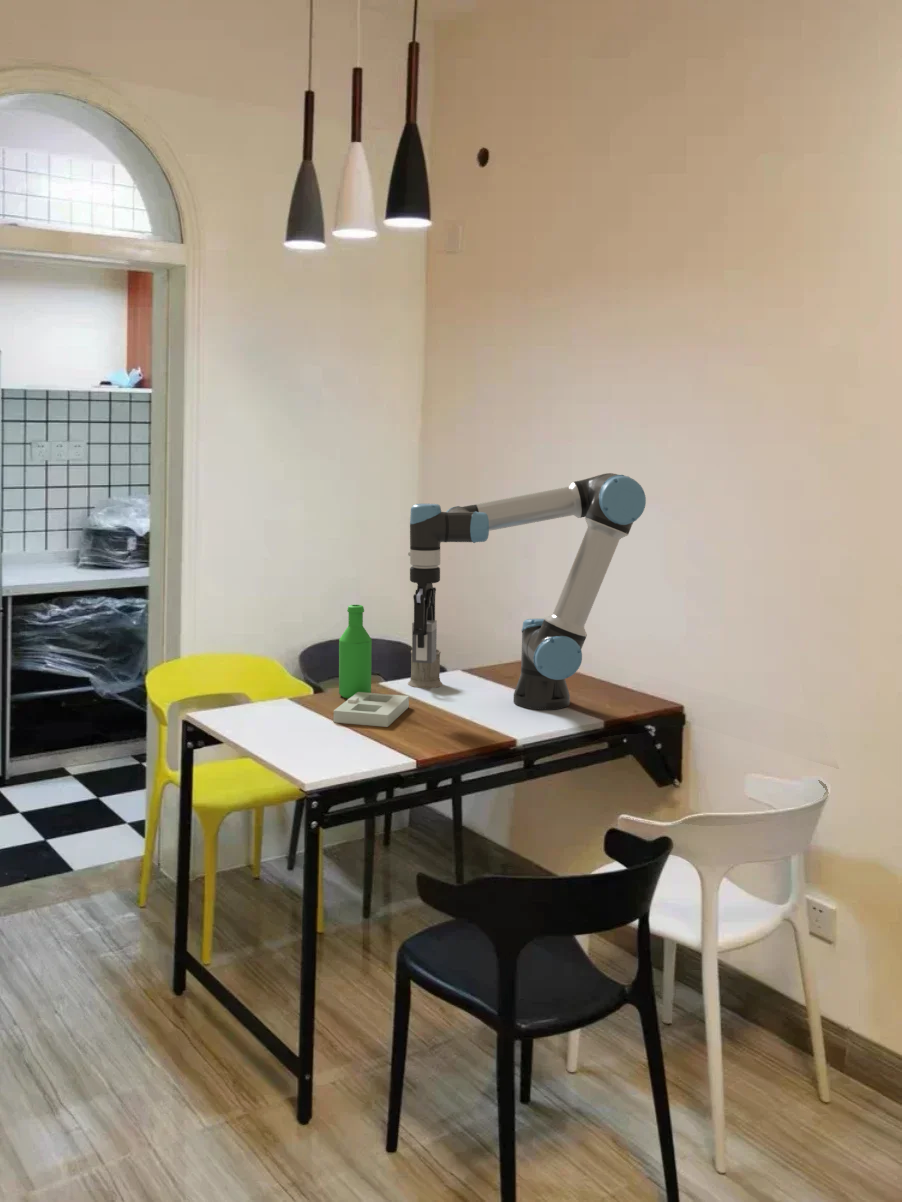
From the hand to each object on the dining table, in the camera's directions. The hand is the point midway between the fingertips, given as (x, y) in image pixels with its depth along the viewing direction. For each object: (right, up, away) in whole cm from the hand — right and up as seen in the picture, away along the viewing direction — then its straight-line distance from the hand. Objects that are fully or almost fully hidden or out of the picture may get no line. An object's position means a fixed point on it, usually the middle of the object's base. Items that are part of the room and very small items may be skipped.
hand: (424, 657), depth 285 cm
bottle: (-19, -12, +23) cm, 32 cm away
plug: (0, -1, 0) cm, 1 cm away
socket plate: (-14, -15, +4) cm, 20 cm away
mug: (-1, -10, +36) cm, 37 cm away
